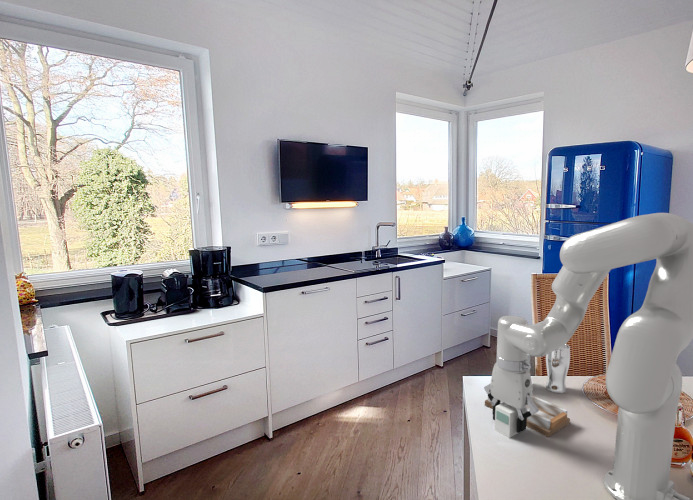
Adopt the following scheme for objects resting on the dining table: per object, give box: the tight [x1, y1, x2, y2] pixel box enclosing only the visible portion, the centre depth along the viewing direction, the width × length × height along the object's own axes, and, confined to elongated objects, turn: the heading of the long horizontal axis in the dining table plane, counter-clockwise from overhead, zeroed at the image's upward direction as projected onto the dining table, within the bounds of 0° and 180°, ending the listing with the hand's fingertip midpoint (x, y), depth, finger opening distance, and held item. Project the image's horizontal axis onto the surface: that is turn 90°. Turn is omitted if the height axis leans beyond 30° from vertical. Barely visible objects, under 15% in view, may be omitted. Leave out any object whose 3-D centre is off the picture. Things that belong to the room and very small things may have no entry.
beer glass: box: [545, 343, 571, 394], centre depth 131 cm, size 7×7×15 cm
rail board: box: [484, 394, 571, 438], centre depth 117 cm, size 20×11×4 cm, turn 34°
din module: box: [494, 402, 523, 439], centre depth 109 cm, size 4×6×7 cm
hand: (508, 424), depth 109 cm, fingers open, 6 cm apart
